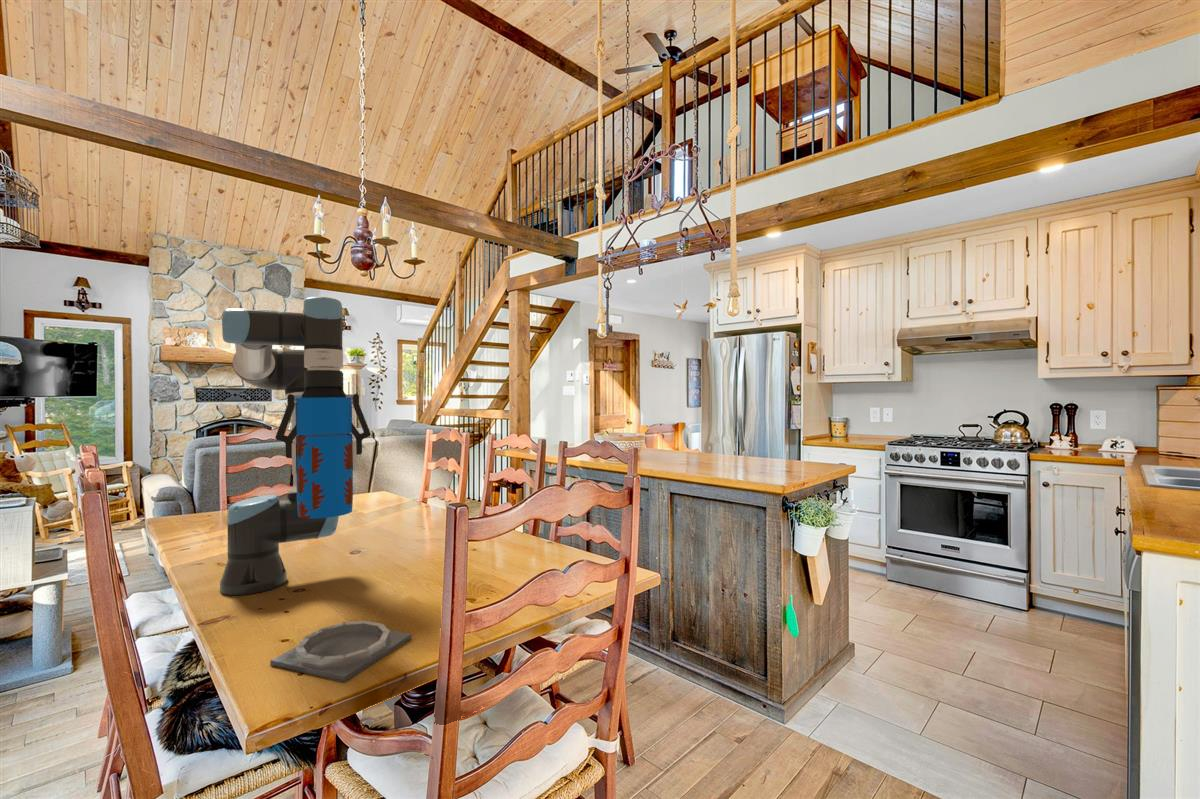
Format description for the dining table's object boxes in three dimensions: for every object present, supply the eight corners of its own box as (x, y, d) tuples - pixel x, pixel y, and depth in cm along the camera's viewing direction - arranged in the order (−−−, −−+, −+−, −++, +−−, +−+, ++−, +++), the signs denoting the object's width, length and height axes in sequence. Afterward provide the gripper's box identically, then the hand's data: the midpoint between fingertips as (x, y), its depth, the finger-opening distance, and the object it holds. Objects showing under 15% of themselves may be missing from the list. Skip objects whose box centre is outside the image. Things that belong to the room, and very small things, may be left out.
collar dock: (270, 665, 103) (270, 652, 102) (344, 626, 119) (344, 615, 119) (344, 682, 96) (344, 668, 96) (411, 638, 113) (411, 626, 113)
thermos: (339, 506, 124) (338, 397, 124) (362, 512, 118) (360, 397, 117) (288, 514, 116) (287, 398, 116) (309, 521, 109) (308, 397, 109)
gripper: (258, 368, 108) (259, 477, 108) (383, 369, 118) (384, 469, 118) (263, 370, 115) (264, 473, 115) (381, 371, 125) (382, 466, 125)
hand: (325, 471), depth 117 cm, fingers closed on thermos, 11 cm apart
